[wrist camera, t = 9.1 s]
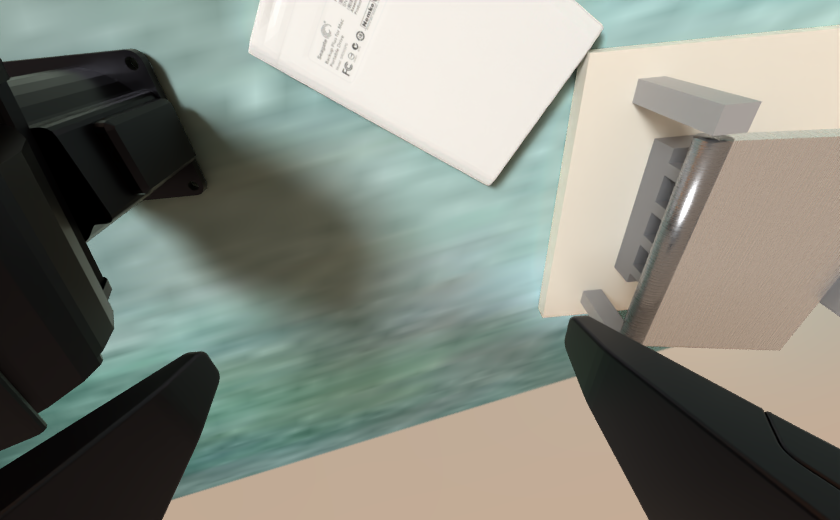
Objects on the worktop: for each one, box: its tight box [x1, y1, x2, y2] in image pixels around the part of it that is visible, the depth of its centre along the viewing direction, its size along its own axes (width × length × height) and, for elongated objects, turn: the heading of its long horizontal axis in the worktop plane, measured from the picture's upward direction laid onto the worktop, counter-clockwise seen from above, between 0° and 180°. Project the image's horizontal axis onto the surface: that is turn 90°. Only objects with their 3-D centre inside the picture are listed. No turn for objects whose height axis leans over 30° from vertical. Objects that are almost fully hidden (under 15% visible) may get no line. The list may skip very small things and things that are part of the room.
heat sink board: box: [538, 25, 840, 332], centre depth 17 cm, size 14×16×8 cm
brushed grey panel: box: [620, 129, 840, 350], centre depth 15 cm, size 1×11×8 cm
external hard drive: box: [249, 0, 603, 186], centre depth 15 cm, size 2×8×12 cm
